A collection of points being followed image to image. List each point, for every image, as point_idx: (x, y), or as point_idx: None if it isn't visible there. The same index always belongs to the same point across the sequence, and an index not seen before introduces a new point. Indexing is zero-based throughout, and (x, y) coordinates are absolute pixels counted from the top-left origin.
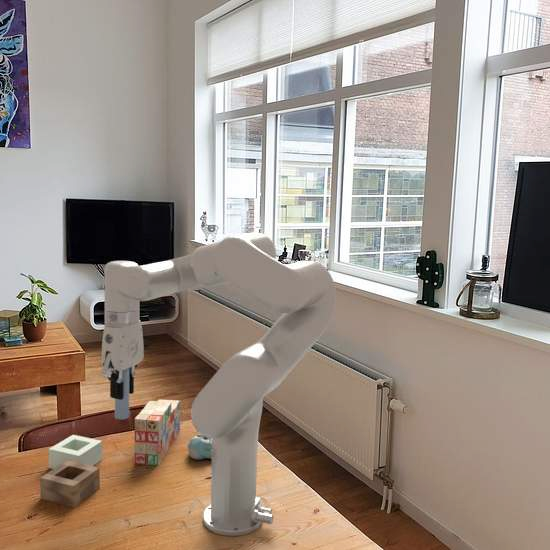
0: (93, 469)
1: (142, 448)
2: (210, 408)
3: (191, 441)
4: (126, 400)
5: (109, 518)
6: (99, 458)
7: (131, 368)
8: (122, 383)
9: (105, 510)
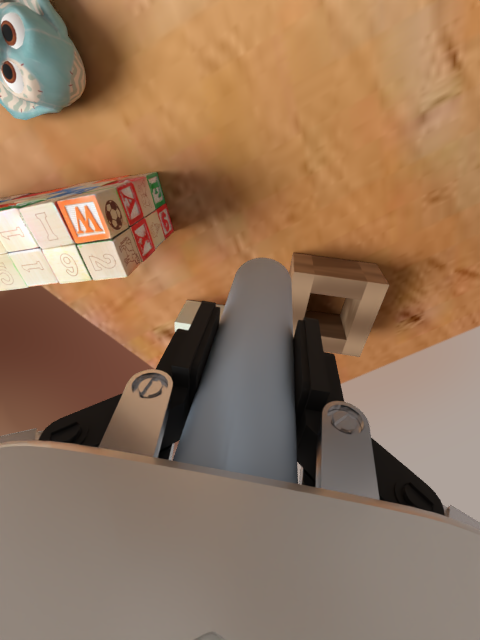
0: (305, 280)
1: (154, 223)
2: None
3: (48, 89)
4: (273, 300)
5: (416, 167)
6: (194, 304)
7: (158, 440)
8: (327, 387)
9: (381, 195)
